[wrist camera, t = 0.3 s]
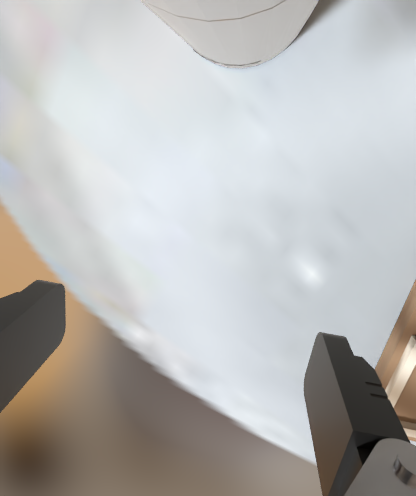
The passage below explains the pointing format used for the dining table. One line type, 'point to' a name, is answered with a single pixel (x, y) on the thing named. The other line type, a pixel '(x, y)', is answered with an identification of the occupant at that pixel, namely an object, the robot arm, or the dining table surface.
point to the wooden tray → (402, 366)
